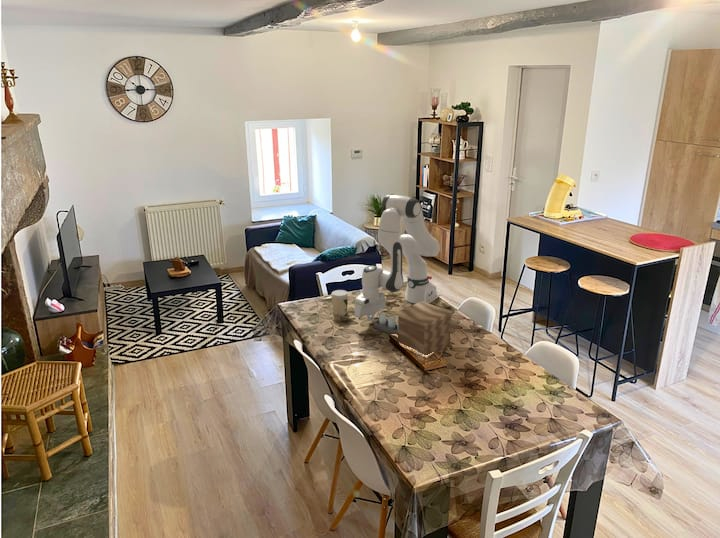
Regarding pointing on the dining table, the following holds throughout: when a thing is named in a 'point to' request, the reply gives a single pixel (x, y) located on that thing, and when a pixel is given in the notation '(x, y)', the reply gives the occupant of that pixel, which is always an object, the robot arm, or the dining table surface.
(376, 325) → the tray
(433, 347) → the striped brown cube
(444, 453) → the dining table surface
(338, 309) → the coffee cup
